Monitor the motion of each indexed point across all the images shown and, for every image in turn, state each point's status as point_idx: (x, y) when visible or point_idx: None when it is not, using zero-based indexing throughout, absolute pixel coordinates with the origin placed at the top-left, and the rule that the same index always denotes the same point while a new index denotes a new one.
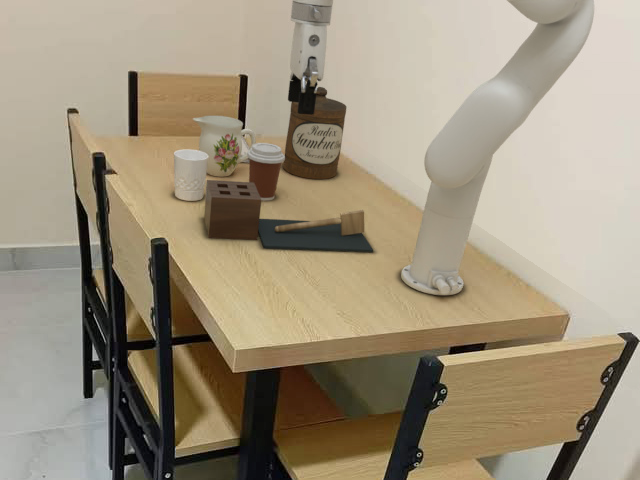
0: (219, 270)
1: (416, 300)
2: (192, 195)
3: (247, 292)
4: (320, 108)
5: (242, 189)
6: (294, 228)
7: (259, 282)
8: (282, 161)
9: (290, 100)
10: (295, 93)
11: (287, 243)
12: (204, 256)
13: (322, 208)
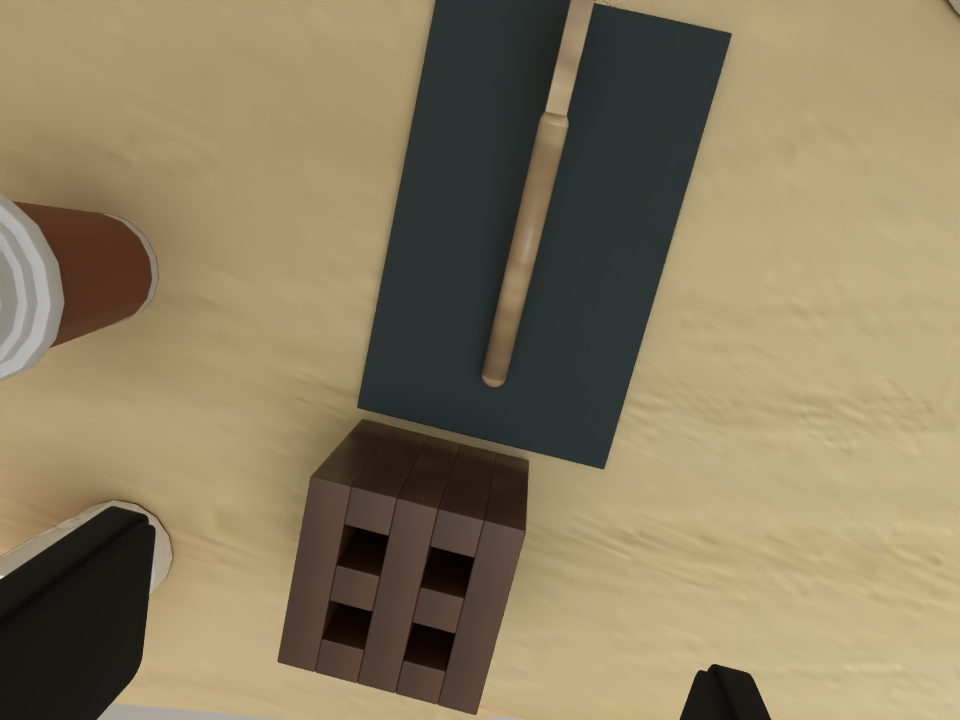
0: (732, 663)
1: None
2: (161, 564)
3: (899, 642)
4: None
5: (398, 563)
6: (520, 319)
7: (846, 582)
8: (29, 219)
9: (137, 661)
10: (78, 675)
11: (600, 378)
12: (624, 669)
13: (243, 43)
